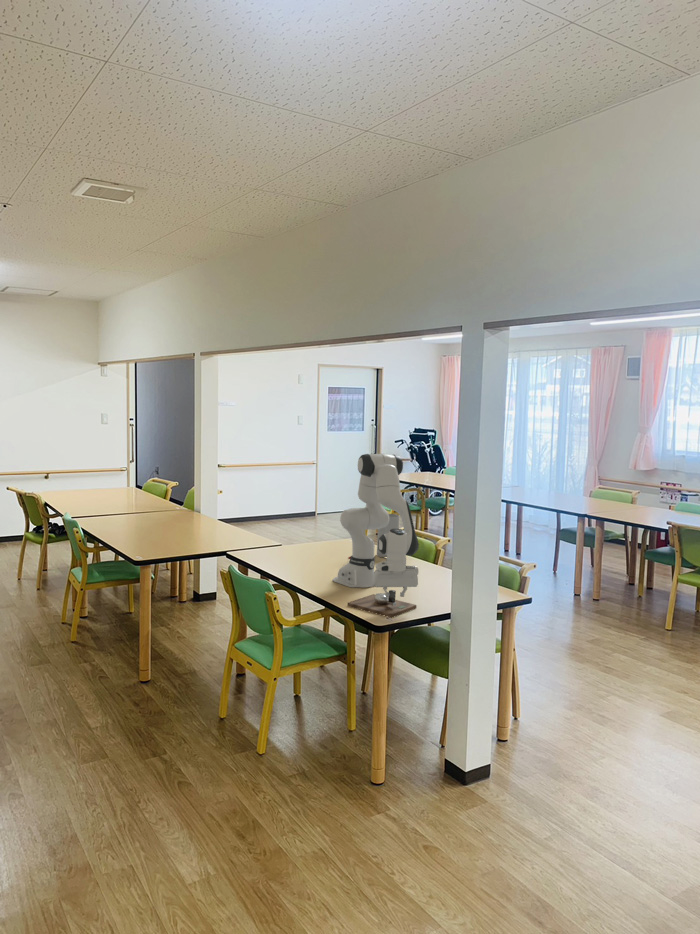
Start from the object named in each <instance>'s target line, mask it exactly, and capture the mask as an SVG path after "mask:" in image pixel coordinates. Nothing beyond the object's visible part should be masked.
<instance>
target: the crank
mask: <svg viewBox="0 0 700 934" xmlns="http://www.w3.org/2000/svg"><path fill="white" fill-rule="evenodd" d="M388 592H389V593H390V594H389V597H386V596H385V592H384V593H383V592H382V593H381V592H380V593H376V594H375V602H376V603H379V604H390V605H392V606H396V603H395V600H396V590H394V589H389V590H388Z"/></svg>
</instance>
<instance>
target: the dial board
mask: <svg viewBox="0 0 700 934" xmlns="http://www.w3.org/2000/svg"><path fill="white" fill-rule="evenodd" d="M375 595H376V594H369V595H367V596H364V597H361V598H357V599H354V600H352V601H349V602H347V607H351V608H353V607H354V608H353V609H357V608H358V609H357V610H361V609H362V610H361V611H364V610H365V612H368V611H370V612H369V613H372V612H373V614H375V613H377V615H379V614H381V615H380V616H383V615H385V616H384V617H386V616H388V617H387V618H390V617H391V619H392V617H393V618H394V616H395V617H398V616H400V615H403V614H405V613H407V612H410V610H411V611H413V610H415V608H416V609H417V604H415V603H410V602H407V601H404V600H403V601H402V600H398V599H395V603H396V606H392V605H390V604H379V603H376V602H375ZM402 613H403V614H402ZM397 615H398V616H397Z"/></svg>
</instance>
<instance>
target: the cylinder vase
mask: <svg viewBox="0 0 700 934" xmlns="http://www.w3.org/2000/svg"><path fill="white" fill-rule="evenodd" d="M388 514H389V523H388V525H387V526H386V527H384V528H380V529H377V539H376V541H377V544H376V556H377V557H378V556H379V558H381V557H387V555H385V554H382V553H381V552H380V551H379V550H378V540H379V538H380V537H381V536H382V535H383V534H387V533H388V532H389V530H391V529H395V528H397V529H400V514H396V513H388Z"/></svg>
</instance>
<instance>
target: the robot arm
mask: <svg viewBox="0 0 700 934" xmlns="http://www.w3.org/2000/svg"><path fill="white" fill-rule="evenodd" d="M403 468H404V462H403V459H402V457H401V456H400V455H397V454H389V453H372V454H369V453H365V454H361V455H360V456H359V458H358V461H357V470H358V473H360V479H359V485H358V492H357V496H358V499H359V500H360V501H361V502H362V503H365V504H366V505H365V507H353V508H347V509H344V510H343V511H342V512H341V513H340V514H341V515H340V518H339V519H340V520H339V521H340V524H341V526H342V528H343V529H345V530H346V531H347V532H348V533H349V535H350V538H351V542H352V554H351V555H350V556H348V557H347V560H349V561H348V562H347V563H346V564H345V565H343V566H341V567H340V569H338V572H337V576H336V577H334V578H333V579H332V582H334V583H337V584H340V585H343V586H346V587H349V588H372V587H375V588H382V589H383V591H384V593H385V596H386V597H389V594H390V593H389V591H387V590H388V588H402V589H403V590H402V591H401V592H400V593H399V594H400V595H399V596H400V597H401V598H404V597H405V593H406V592H407V590H408V588H417V587H418V585H419V577H418V575H419V568H418V567H417V566H416V565H407V556H409V557H412V556H413V555H415V554H416V553H417V552H418V551H419V548H420V547H419V545H420V543H419V540H418V536H417V533H416V529H415V525H414V521H413V517H412V511H411V507H410V505H409V504H410V503H409V502H408V500H407V499H406V498H404V496H403V494H402V492H401V486H400V485H401V483H400V475H401V474H402V472H403ZM385 508H386V509H389V510H392V511H394V512H396V513H398V515H399V517H401V522H402V526H403V528H402V529H401V528H399V529H397V528H395V529H391V530H389V532H388V533H387V534H383V535H382V536H381V537H380V538H379V540H378V550H379V551H380V552H381V553H382V554H385V555H387V558H385V559H386V560H385V561H381V562H377V563H376V560H375V558H376V557H375V546H376V545H375V542H374V540H373V538H371V537H369V536H368V535H366V530H367V531H368V530H369V531H370V530H378V529H380V528H384V527H386V526H387V525H388V523H389V514H390V513H389V512H388V511H387V510H386V509H385ZM375 563H376V564H375ZM375 568H376V569H375Z"/></svg>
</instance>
